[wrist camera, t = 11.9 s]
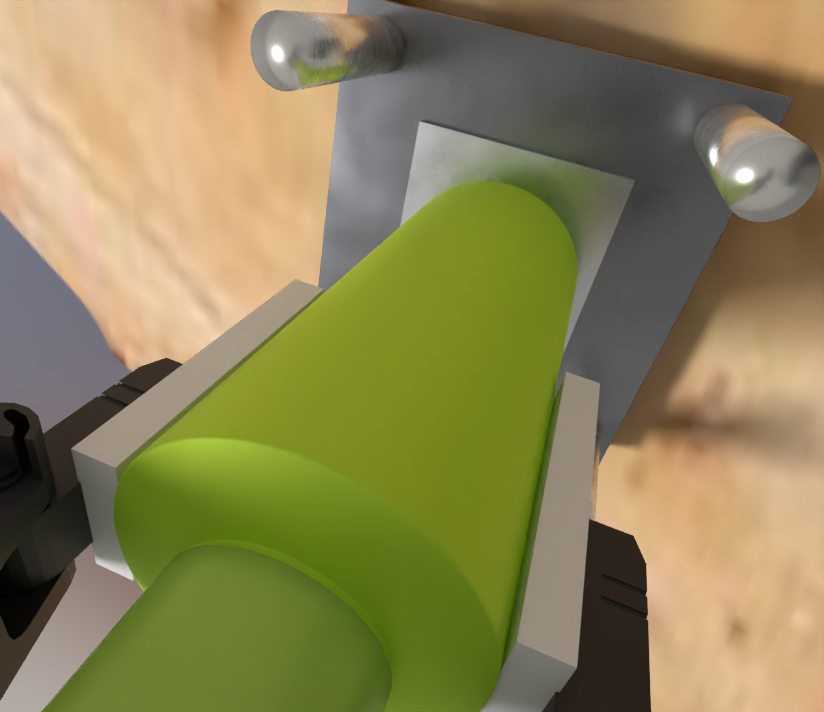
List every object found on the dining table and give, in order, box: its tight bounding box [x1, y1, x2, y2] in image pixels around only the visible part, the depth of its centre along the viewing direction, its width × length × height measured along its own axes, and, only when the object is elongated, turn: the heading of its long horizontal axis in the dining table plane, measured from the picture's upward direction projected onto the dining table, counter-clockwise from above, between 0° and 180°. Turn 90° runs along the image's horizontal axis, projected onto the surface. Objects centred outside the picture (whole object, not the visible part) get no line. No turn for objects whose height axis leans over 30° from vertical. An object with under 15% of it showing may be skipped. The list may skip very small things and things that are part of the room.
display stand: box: [250, 0, 820, 521], centre depth 18 cm, size 14×13×8 cm
